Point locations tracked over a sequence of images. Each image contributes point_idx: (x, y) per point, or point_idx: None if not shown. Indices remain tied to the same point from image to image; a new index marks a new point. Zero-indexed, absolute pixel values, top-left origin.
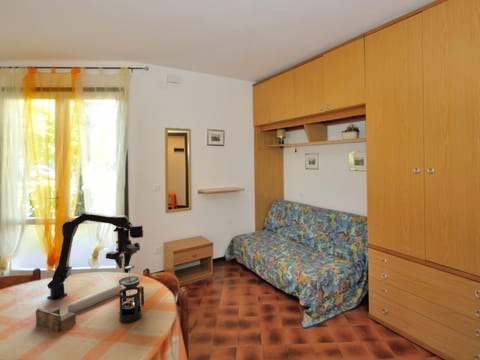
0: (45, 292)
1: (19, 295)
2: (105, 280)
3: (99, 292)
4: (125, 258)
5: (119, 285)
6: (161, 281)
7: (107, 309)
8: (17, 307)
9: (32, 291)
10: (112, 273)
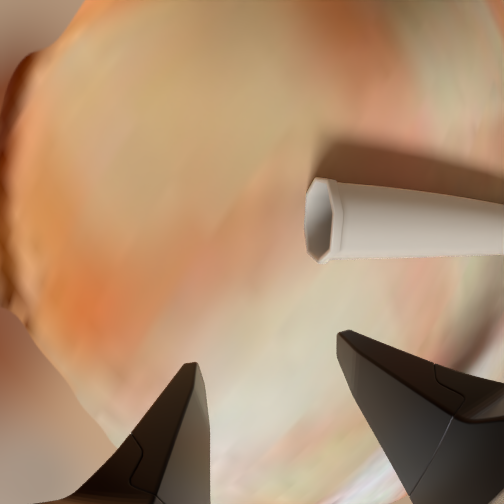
0: None
1: None
2: (231, 438)
3: (462, 228)
4: (206, 500)
5: (341, 206)
6: (9, 121)
7: (450, 94)
8: None
9: None
10: None
